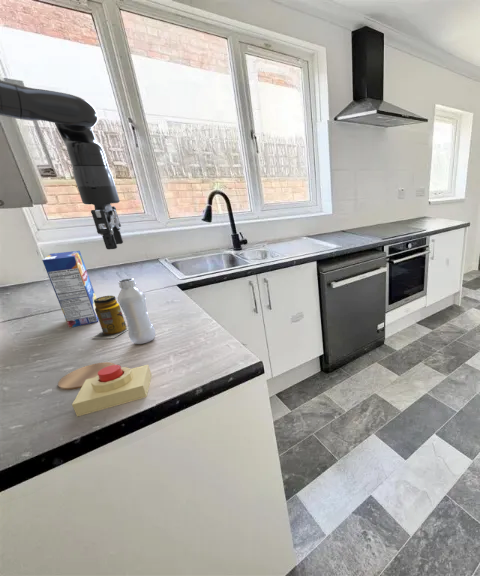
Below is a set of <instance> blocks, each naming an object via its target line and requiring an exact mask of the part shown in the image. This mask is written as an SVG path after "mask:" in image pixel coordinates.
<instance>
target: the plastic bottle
mask: <svg viewBox="0 0 480 576" xmlns="http://www.w3.org/2000/svg"><path fill="white" fill-rule="evenodd" d="M117 283H118V288H119V289H121V290H120V291H119V293H118V295H117V303H118V304H119V305H120V308H121V311H122V313H123V315H124V317H125V320H126V323H127V324H126V325H127V326H128V338H129V340H130V342H131V343H133V344H135V345H142V344H146V343H150V342H151V341H153V340H154V339H155V337H156V335H157V334H156V329H155V327H154V325H153V324H152V321H151V319H150V316H149V313H148V308H147V301H146V294H145V293H144V291H142V290H141V288H138V287H137V283H136V281H135V278H132V277H131V278H124V279H120V280H118V282H117Z"/></svg>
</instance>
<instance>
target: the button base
mask: <svg viewBox="0 0 480 576" xmlns="http://www.w3.org/2000/svg"><path fill="white" fill-rule="evenodd" d="M121 369H122V372H123V375H122V376H120V377H119V378H117V379H115V380H112V381H108V382H101V381H100V379H99V376H96V377H94V378H90V379H86V380H85V382H84V384H83V386H82V388H79V391H78V393H77V395H76V397H75V398H74V400H73V402H72V403H71V405H72V408H73V410H74V413H75V414H76V417H82V416H84V415H89V414H92V413H94V412H95V413H96V412H99V411H102V410H106V409H109V408H112V407H117V406H120V405H124V404H127V403H130V402H134V401H137V400H141V399H145V398H147V397H148V393H149V389H150V384H151V380H152V376H153V374H152V372H151V368H150V365H149V364H145V365H144V364H143V365H141V366H140V365H139V366H137V367H132V368H130V367H127V366H126V367H125V366H124V367H123V366H121Z"/></svg>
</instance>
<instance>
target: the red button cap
mask: <svg viewBox="0 0 480 576" xmlns="http://www.w3.org/2000/svg"><path fill="white" fill-rule="evenodd" d="M121 367H122V366H121V365H120V364H115V365H111V366H108V367H105V368H103V369H101V370H100V371H99V372H98V376H99V379H100V381H101V382H108V381H112V380H115V379H117V378H119V377H120V376H122V375H123V372H122V369H121Z"/></svg>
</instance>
